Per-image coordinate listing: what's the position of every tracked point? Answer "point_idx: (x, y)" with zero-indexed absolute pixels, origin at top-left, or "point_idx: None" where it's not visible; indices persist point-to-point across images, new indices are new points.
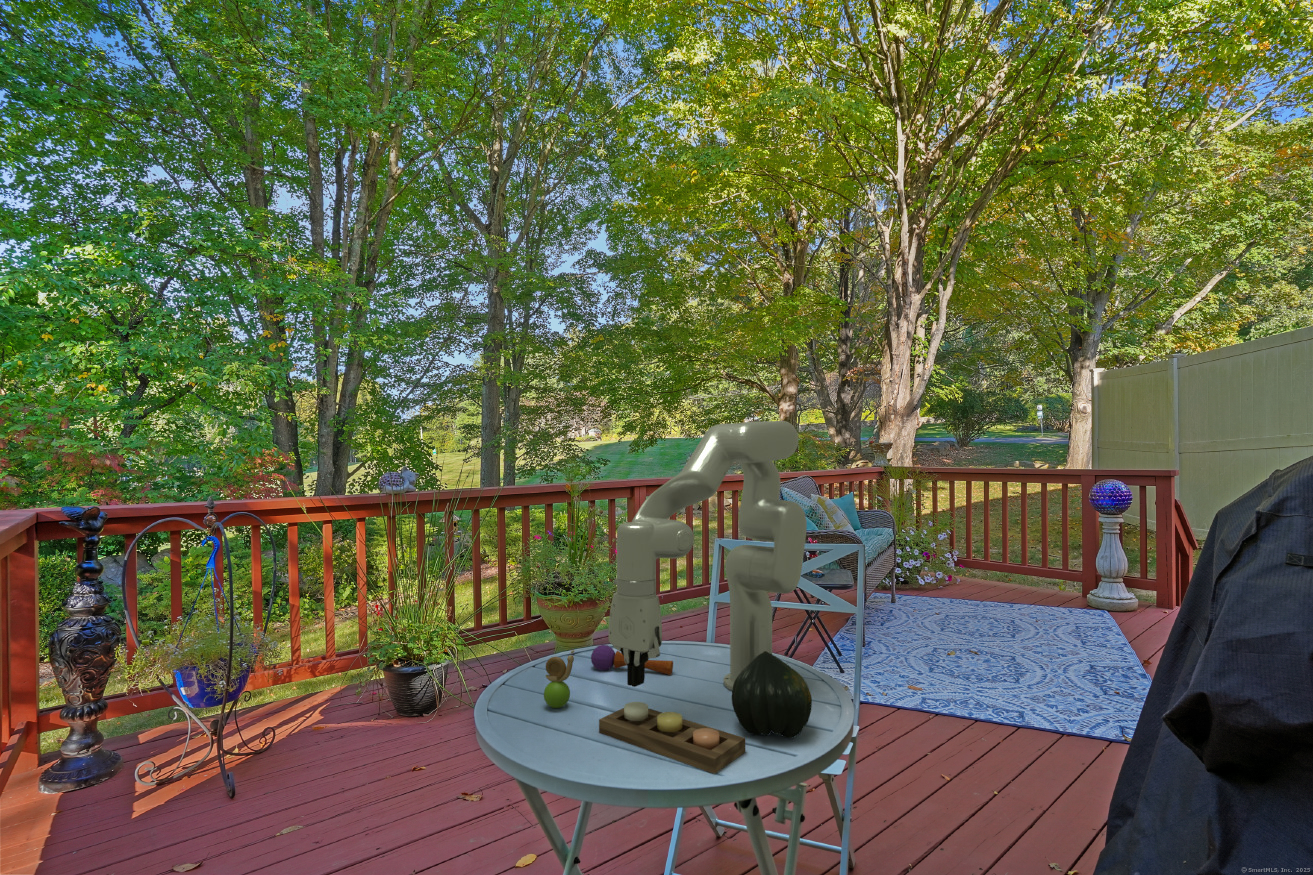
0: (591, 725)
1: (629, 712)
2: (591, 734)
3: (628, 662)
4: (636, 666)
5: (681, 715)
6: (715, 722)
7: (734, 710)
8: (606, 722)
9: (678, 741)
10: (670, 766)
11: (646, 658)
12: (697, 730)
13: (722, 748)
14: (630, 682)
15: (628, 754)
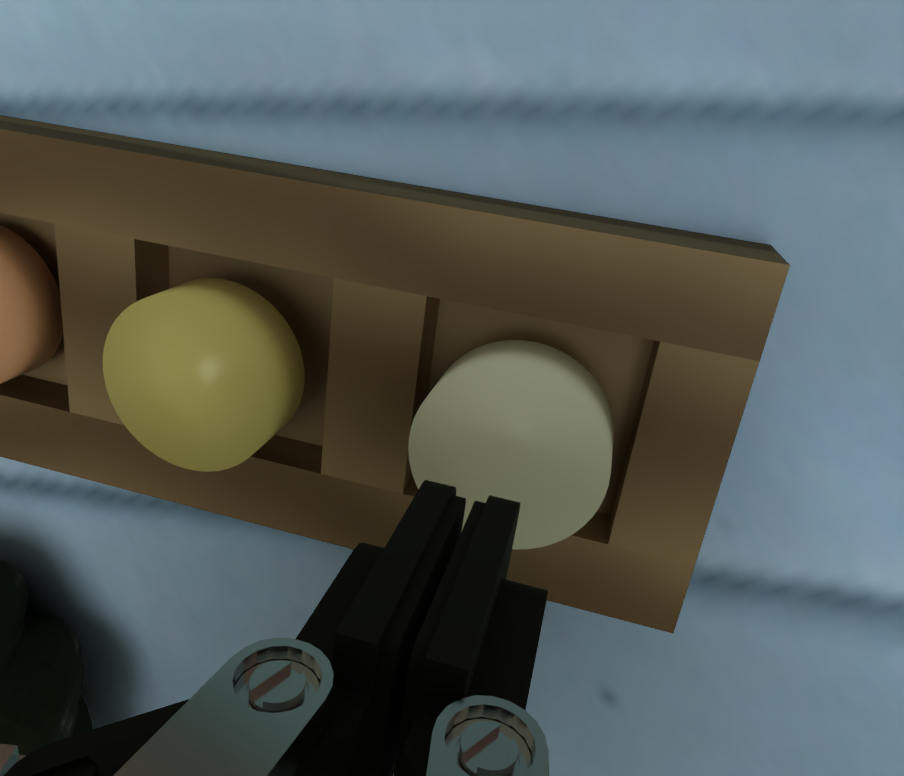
0: (897, 332)
1: (515, 360)
2: (815, 190)
3: (453, 703)
4: (339, 666)
5: (139, 440)
6: (216, 640)
7: (53, 676)
8: (697, 246)
9: (76, 203)
10: (94, 42)
11: (65, 747)
12: (6, 333)
13: None
14: (473, 512)
15: (389, 41)
